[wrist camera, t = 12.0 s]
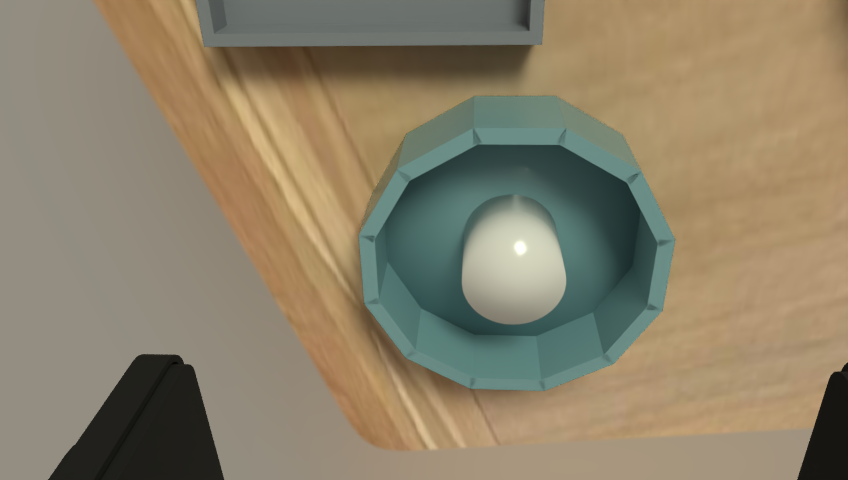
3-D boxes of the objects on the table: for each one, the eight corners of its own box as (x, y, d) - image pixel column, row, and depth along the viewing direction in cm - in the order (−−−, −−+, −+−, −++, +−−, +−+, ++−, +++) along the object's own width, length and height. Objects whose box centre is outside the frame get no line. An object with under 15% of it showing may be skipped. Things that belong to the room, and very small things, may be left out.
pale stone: (560, 194, 37) (570, 238, 32) (553, 276, 39) (562, 325, 35) (464, 193, 37) (461, 236, 33) (463, 274, 40) (461, 323, 35)
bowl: (669, 95, 34) (695, 128, 30) (630, 341, 42) (647, 394, 38) (365, 95, 36) (350, 127, 31) (381, 334, 43) (370, 385, 39)
